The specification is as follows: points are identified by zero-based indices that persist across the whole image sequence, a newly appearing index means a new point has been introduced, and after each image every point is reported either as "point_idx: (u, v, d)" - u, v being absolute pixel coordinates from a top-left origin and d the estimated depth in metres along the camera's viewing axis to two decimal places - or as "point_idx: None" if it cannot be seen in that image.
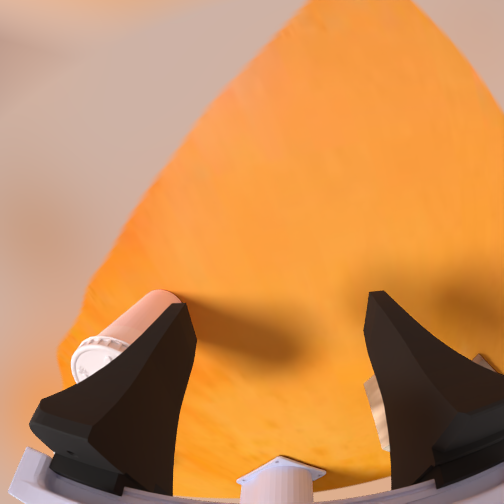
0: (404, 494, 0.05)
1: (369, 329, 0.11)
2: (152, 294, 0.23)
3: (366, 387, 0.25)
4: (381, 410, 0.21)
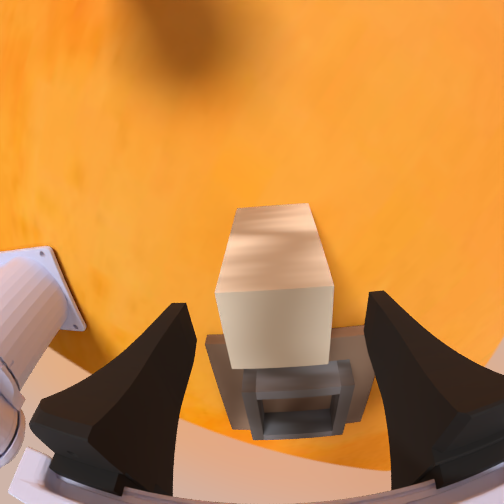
0: (404, 494, 0.05)
1: (369, 329, 0.11)
2: None
3: (239, 212, 0.17)
4: (248, 241, 0.14)
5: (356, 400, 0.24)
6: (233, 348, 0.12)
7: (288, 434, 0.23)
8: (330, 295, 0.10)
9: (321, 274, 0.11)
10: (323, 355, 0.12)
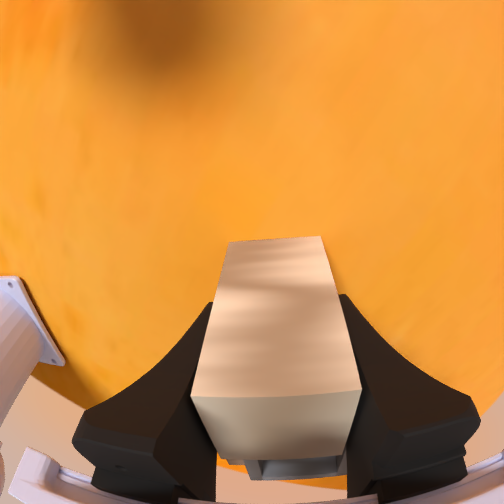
0: None
1: None
2: None
3: (231, 249, 0.13)
4: (241, 301, 0.10)
5: None
6: (221, 444, 0.08)
7: (289, 476, 0.19)
8: (355, 399, 0.06)
9: (343, 367, 0.07)
10: (336, 449, 0.08)
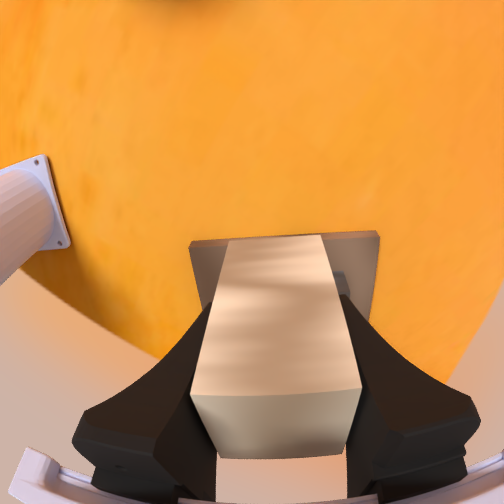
0: None
1: None
2: None
3: (231, 248, 0.13)
4: (241, 299, 0.10)
5: None
6: (221, 443, 0.08)
7: None
8: (355, 397, 0.06)
9: (344, 365, 0.07)
10: (336, 448, 0.08)
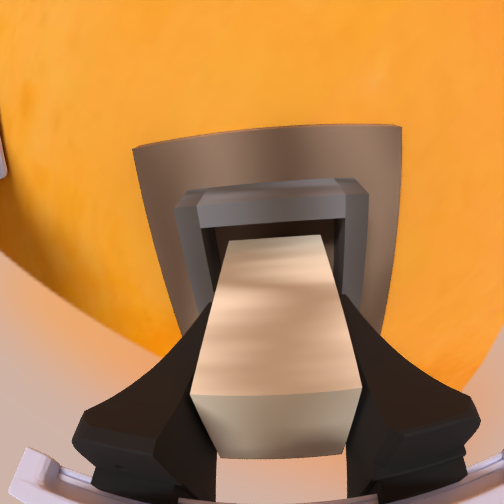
0: None
1: None
2: None
3: (231, 248, 0.13)
4: (241, 299, 0.10)
5: (373, 282, 0.17)
6: (221, 443, 0.08)
7: None
8: (355, 397, 0.06)
9: (344, 365, 0.07)
10: (336, 448, 0.08)
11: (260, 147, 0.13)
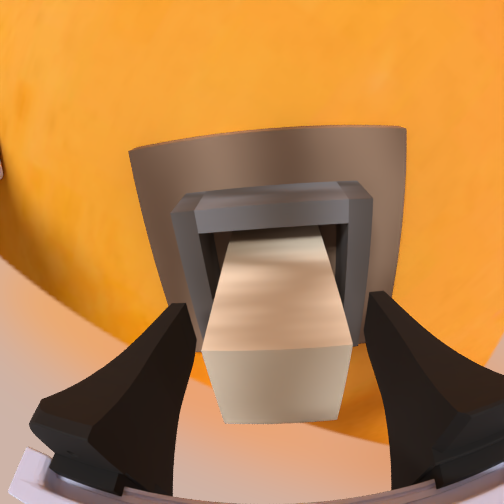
0: (404, 494, 0.05)
1: (369, 329, 0.11)
2: None
3: (235, 232, 0.14)
4: (245, 274, 0.11)
5: (375, 287, 0.16)
6: (226, 405, 0.09)
7: None
8: (347, 354, 0.08)
9: (336, 326, 0.08)
10: (332, 412, 0.09)
11: (260, 149, 0.13)
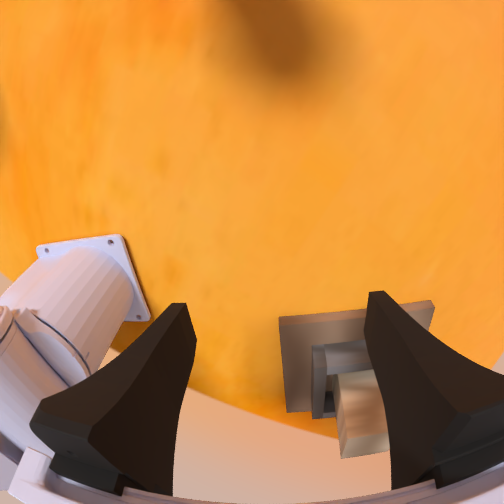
0: (404, 494, 0.05)
1: (369, 329, 0.11)
2: None
3: None
4: (353, 396, 0.21)
5: None
6: (346, 452, 0.19)
7: None
8: None
9: None
10: (387, 448, 0.19)
11: (357, 325, 0.23)
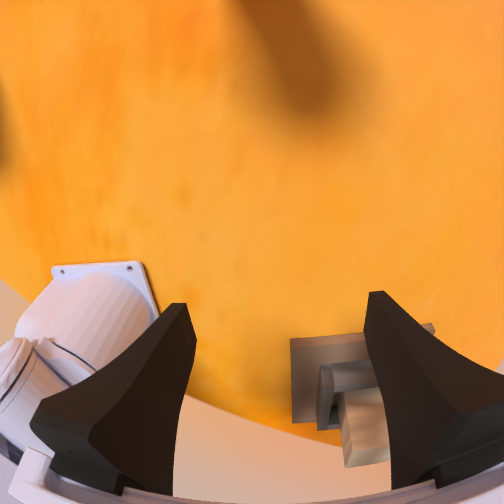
0: (404, 494, 0.05)
1: (369, 329, 0.11)
2: None
3: None
4: (357, 412, 0.22)
5: None
6: (350, 462, 0.20)
7: None
8: None
9: None
10: (387, 459, 0.20)
11: (363, 347, 0.24)
